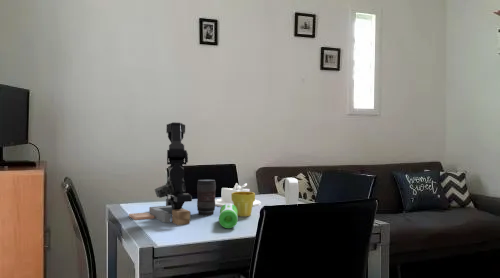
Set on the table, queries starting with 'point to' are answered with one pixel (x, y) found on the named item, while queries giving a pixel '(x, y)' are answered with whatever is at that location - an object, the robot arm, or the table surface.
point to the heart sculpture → (291, 191)
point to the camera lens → (206, 197)
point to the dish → (227, 195)
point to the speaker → (228, 215)
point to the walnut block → (181, 216)
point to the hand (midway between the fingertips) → (175, 216)
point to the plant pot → (243, 202)
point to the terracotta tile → (141, 216)
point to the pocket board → (162, 213)
